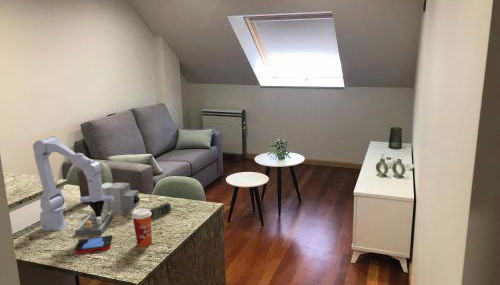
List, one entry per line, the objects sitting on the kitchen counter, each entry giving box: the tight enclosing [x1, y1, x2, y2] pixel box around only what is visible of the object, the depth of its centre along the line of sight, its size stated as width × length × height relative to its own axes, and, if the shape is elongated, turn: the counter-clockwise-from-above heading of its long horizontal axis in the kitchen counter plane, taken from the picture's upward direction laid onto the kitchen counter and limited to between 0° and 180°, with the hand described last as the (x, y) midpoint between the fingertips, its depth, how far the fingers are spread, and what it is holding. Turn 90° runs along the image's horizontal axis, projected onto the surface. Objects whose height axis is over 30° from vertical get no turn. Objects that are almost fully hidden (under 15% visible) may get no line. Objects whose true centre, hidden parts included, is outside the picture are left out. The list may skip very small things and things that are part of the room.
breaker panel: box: [74, 209, 114, 236], centre depth 193 cm, size 12×17×6 cm
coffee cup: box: [131, 208, 153, 248], centre depth 175 cm, size 8×8×15 cm
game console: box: [74, 234, 114, 255], centre depth 176 cm, size 14×13×2 cm
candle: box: [76, 168, 90, 204], centre depth 221 cm, size 8×7×20 cm
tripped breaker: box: [86, 221, 92, 229], centre depth 186 cm, size 2×2×3 cm
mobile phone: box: [149, 203, 172, 221], centre depth 204 cm, size 5×3×15 cm
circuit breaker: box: [108, 182, 141, 217], centre depth 207 cm, size 8×14×15 cm, turn 78°
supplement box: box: [102, 181, 114, 212], centre depth 215 cm, size 7×7×13 cm
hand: (98, 216), depth 185 cm, fingers closed
